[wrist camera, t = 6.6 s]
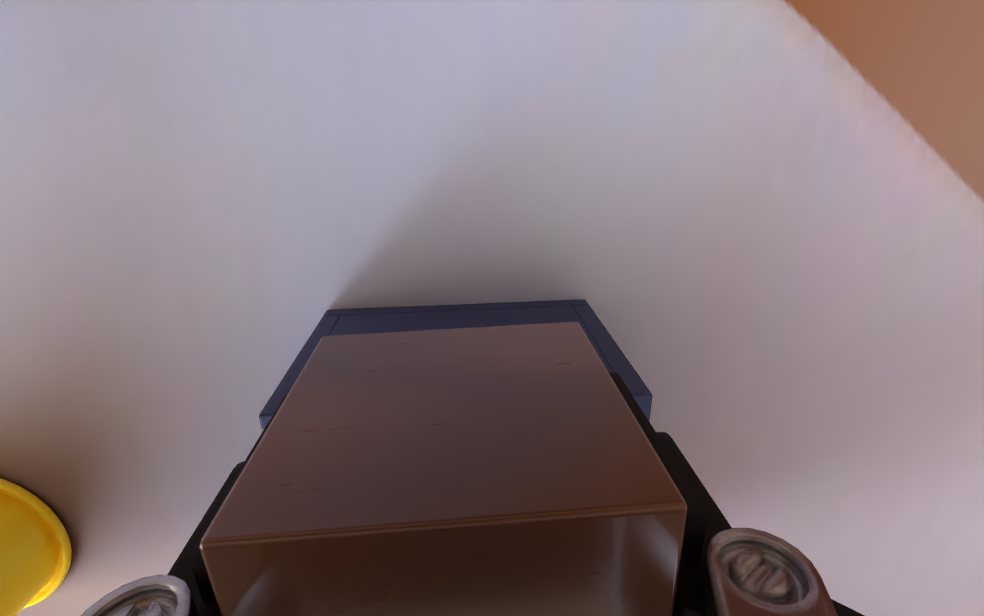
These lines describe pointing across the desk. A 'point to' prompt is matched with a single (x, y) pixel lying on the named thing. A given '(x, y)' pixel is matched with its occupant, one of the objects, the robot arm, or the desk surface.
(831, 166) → the desk surface
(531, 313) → the case
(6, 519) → the stacking cups
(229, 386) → the desk surface
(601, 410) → the walnut block
